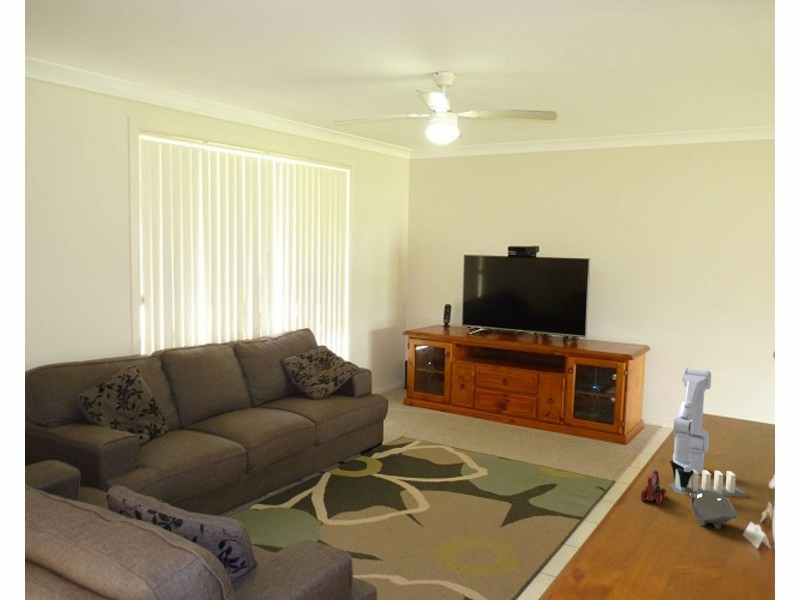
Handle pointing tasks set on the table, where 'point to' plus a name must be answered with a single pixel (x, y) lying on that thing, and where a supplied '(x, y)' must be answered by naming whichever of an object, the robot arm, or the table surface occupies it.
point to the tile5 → (730, 482)
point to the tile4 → (718, 481)
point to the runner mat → (689, 490)
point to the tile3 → (706, 480)
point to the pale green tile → (678, 482)
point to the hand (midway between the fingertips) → (680, 483)
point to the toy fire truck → (653, 489)
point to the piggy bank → (712, 507)
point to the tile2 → (694, 481)
